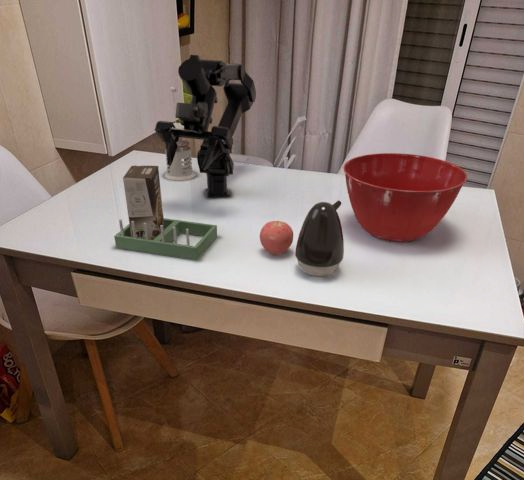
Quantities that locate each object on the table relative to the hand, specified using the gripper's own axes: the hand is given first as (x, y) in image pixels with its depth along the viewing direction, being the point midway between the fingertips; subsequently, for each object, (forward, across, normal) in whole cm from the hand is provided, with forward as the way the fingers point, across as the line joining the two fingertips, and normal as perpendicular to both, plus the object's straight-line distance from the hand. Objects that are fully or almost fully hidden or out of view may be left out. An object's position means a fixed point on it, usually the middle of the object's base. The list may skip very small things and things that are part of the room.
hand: (186, 167), depth 121 cm
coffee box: (+20, -4, -1) cm, 20 cm away
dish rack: (+20, +1, -1) cm, 20 cm away
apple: (+17, +26, +2) cm, 32 cm away
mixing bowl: (+2, +51, +17) cm, 54 cm away
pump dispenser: (+21, +37, -2) cm, 43 cm away
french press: (-13, -17, +32) cm, 39 cm away
